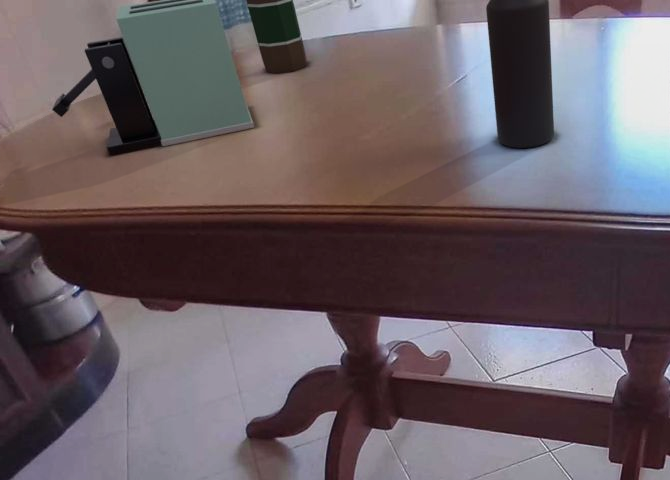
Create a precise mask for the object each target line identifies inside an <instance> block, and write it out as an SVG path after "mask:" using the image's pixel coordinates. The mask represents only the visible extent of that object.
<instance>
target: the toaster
mask: <svg viewBox="0 0 670 480" xmlns="http://www.w3.org/2000/svg"><path fill="white" fill-rule="evenodd" d="M115 20H116V22H117V25H118V28H119V31H120V34H121V37H123V40H124V42H125V45H126V47H127V50H128V53H129V55H130V58H131V61H132V63H133V66H134V69H135V71H136V74H137V77H138V79H139V82H140V84H141V87H142V90H143V92H144V95H145V98H146V100H147V103H148V106H149V108H150V111H151V113H152V116H153V119H154V120H155V123H156V126H157V128H158V131H159V134H160V136H161V144H162V145H161V146H162V147H167V146H168V147H169V146H172V145H173V146H174V145H178V144H182V143H187V142H193V141H197V140H203V139H207V138H212V137H215V136H221V135H226V134H231V133H235V132H240V131H245V130H250V129H254V128H255V125H254V120H253V118H252V115H251V113H250V109H249V107H248V104H247V102H246V99H245V95H244V93H243V89H242V85H241V83H240V79H239V76H238V72H237V68H236V65H235V62H234V59H233V55H232V52H231V49H230V44H229V41H228V39H227V35H226V31H225V28H224V24H223V22H222V21H223V20H222V18H221V15H220V12H219V8H218V5H217V1H216V0H154V1H148V2H143V3H137V4H129V5H124V6H120V7H119V9H118V13H117V16H116V19H115Z"/></svg>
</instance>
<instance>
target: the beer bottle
mask: <svg viewBox="0 0 670 480" xmlns="http://www.w3.org/2000/svg"><path fill="white" fill-rule="evenodd" d="M245 2H246V4H247V9H248V12H249V15H250V19H251V24H252V27H253V31H254V34H255V38H256V42H257V46H258V50H259V52H260V57H261V60H262V63H263V66H264V69H265V71H266V72H267V73H271V74H283V73H290V72H291V73H292V72H295V71H298V70H301V69H303V68H306V66H307V55H306V50H305V45H304V42H303V41H304V40H303V37H302V33H301V29H300V24H299V19H298V16H297V12H296V7H295V3H294V0H245Z"/></svg>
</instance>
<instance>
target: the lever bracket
mask: <svg viewBox="0 0 670 480" xmlns="http://www.w3.org/2000/svg"><path fill="white" fill-rule="evenodd" d="M108 42H110V43H111V45H106V44H107V43H108ZM86 45H87V48H84V54H85V56H86V58H87V61H88V64H89V66H90V68H91V69H92V70H93V73H94V75H95V78H96V79H95V80H96V82H97V84H98V87H99V89H100V92H101V94H102V97H103V100H104V103H105V104H106V106H107V109H108V111H109V114H110V116H111V118H112V121H113V123H114V126H115V127H111V128H109V134H108V139H107V144H106V150H107V152H108V154H109V156H110V157H113V156H117V155H121V154H126V153H131V152H136V151H140V150H145V149H150V148H155V147H160V146H162V144H161V136H160V134H159V131H158V128H157V126H156V123H155V120H154V118H153V115H152V112H151V110H150V107H149V104H148V102H147V99H146V97H145V94H144V91H143V89H142V86H141V83H140V81H139V78H138V75H137V73H136V70H135V67H134V65H133V62H132V60H131V57H130V54H129V52H128V49H127V46H126V44H125V41H124V38H123V36H121V37H115V38H107V39H103V40H96V41H91V42H87V44H86Z"/></svg>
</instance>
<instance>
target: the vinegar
mask: <svg viewBox="0 0 670 480" xmlns="http://www.w3.org/2000/svg"><path fill="white" fill-rule="evenodd" d="M485 10H486V22H487V34H488V45H489V56H490V67H491V79H492V88H493V100H494V111H495V122H496V134H497V135H496V136H497V139H498V142H499V143H500V144H501V145H504V146H505V147H508V148H514V149H526V148H527V149H529V148H534V147H540V146H542V145H545V144H546V143H549V142H550V141H551V140H552V139H553V138H554V135H555V121H554V119H555V118H554V97H553V96H554V94H553V73H552V72H553V71H552V70H553V69H552V49H551V48H552V47H551V46H552V45H551V25H550V24H551V22H550V2H549V0H489V1H488V2H487V4H486V7H485Z"/></svg>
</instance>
